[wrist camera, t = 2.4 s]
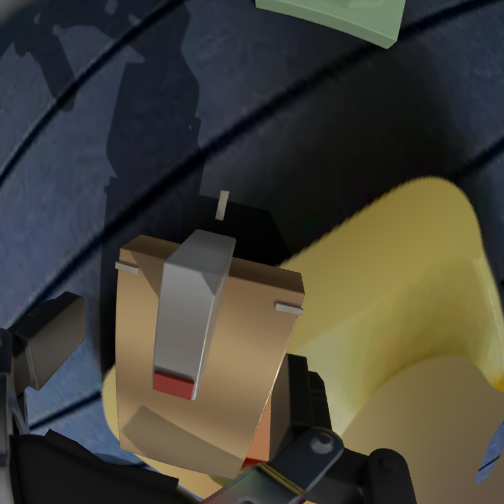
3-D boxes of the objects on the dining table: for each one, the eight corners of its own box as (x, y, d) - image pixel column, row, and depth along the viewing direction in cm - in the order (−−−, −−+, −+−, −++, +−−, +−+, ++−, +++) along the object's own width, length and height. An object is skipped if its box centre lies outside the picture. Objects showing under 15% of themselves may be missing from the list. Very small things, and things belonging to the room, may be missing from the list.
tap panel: (149, 167, 18) (126, 170, 15) (322, 206, 18) (331, 217, 15) (130, 425, 24) (118, 449, 21) (240, 454, 25) (236, 482, 21)
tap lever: (196, 228, 16) (160, 263, 11) (236, 237, 16) (218, 278, 11) (179, 331, 17) (149, 391, 12) (214, 340, 17) (193, 405, 12)
